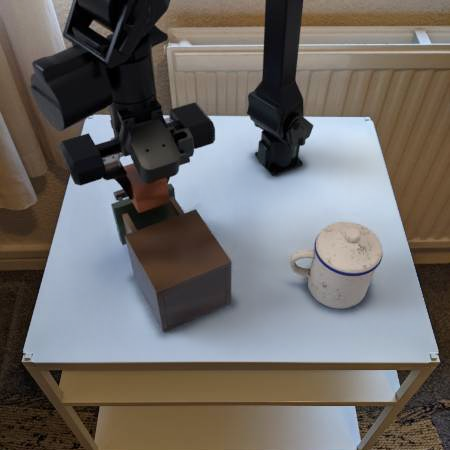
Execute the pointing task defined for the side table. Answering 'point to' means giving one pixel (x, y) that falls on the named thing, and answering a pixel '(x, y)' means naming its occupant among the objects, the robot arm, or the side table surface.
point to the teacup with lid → (340, 264)
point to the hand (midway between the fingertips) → (147, 192)
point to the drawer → (134, 221)
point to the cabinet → (180, 269)
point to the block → (146, 190)
